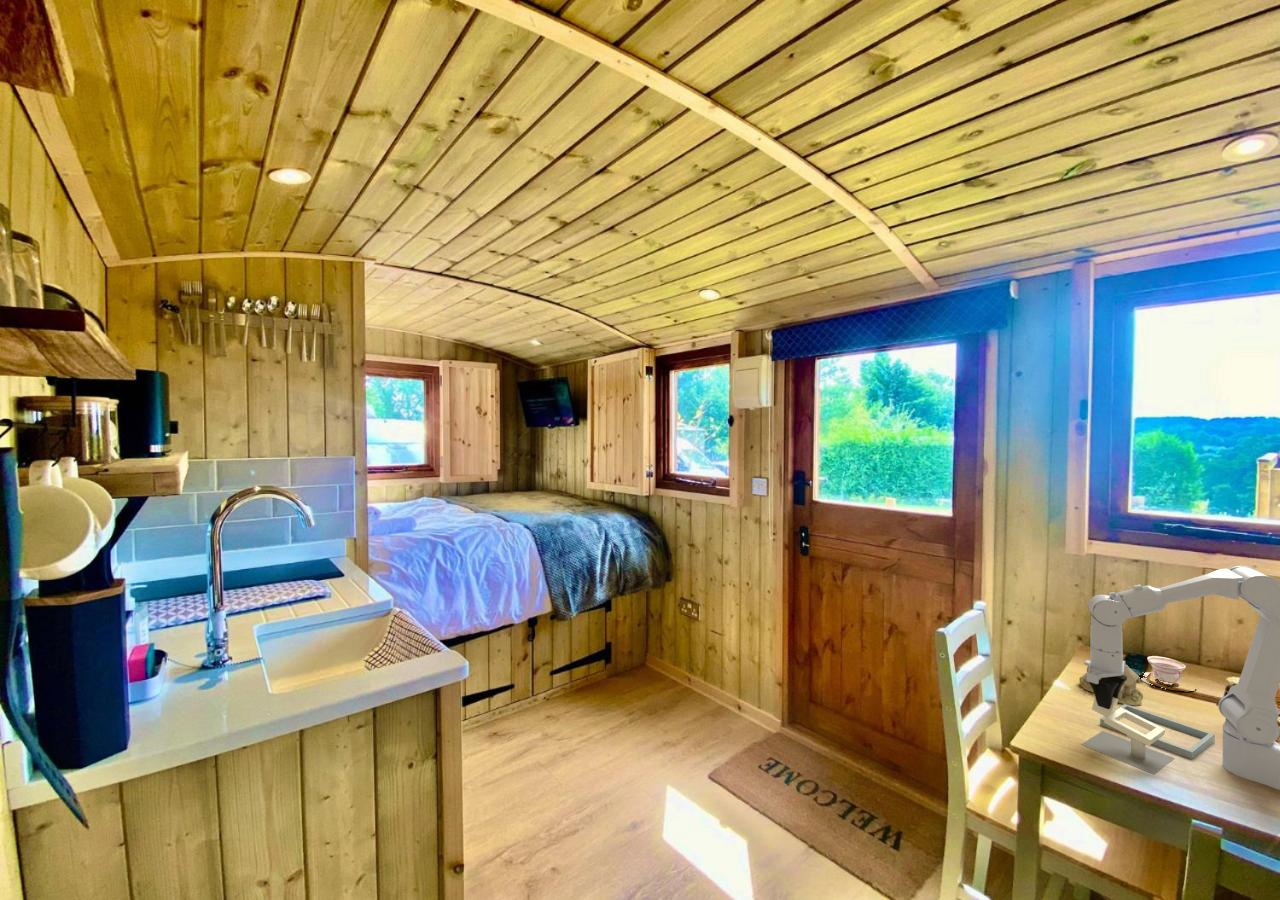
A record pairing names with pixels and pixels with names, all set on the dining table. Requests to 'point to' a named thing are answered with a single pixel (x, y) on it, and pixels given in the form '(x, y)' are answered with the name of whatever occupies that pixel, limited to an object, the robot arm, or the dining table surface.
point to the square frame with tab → (1114, 717)
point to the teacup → (1165, 669)
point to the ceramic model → (1122, 688)
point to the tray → (1183, 728)
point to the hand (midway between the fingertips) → (1106, 705)
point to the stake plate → (1128, 751)
